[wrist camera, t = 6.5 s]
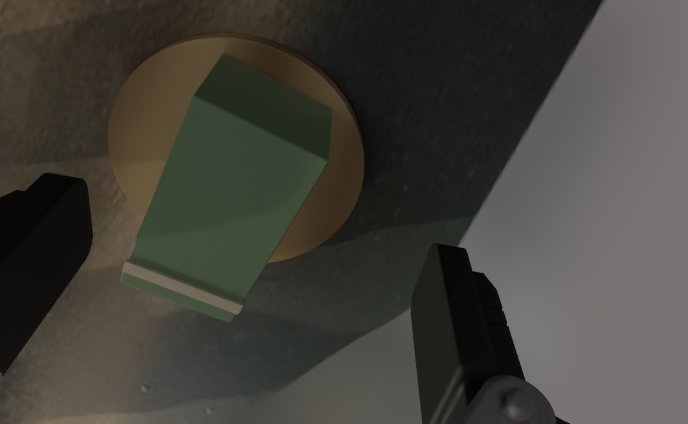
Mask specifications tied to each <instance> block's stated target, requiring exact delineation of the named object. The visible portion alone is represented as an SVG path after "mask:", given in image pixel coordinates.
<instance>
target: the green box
mask: <svg viewBox="0 0 688 424" xmlns="http://www.w3.org/2000/svg"><path fill="white" fill-rule="evenodd" d="M332 113H333V109H332V108H330V107H328V106H326V105H324V104H322V103H320V102H318V101H316V100H314V99H312V98H310V97H309V96H307V95H305V94H303V93H301V92H299V91H297V90H295V89H293V88H291V87H289V86H287V85H285V84H284V83H282V82H280V81H278V80H276V79H274V78H272V77H270V76H268V75H266V74H264V73H262V72H260V71H259V70H257V69H255V68H253V67H251V66H249V65H247V64H245V63H243V62H241V61H239V60H237V59H235V58H234V57H232V56H230V55H228V54H226V53H223V54H222V55H221V56H220V58H219V59H218V61H217V62H216V64H215V65H214V66H213V68H212V69H211V71H210V72H209V73H208V75H207V76H206V78H205V79H204V81H203V82H202V83H201V85H200V86H199V88H198V89H197V91H196V92H195V93H194V95H193V96H192V99H191V102H190V104H189V107H188V109H187V112H186V114H185V117H184V119H183V122H182V124H181V127H180V129H179V132H178V134H177V137H176V139H175V142H174V144H173V147H172V149H171V152H170V155H169V157H168V160H167V162H166V165H165V167H164V170H163V172H162V175H161V177H160V180H159V182H158V185H157V187H156V190H155V192H154V195H153V197H152V200H151V203H150V205H149V208H148V210H147V213H146V215H145V218H144V220H143V223H142V225H141V228H140V230H139V233H138V235H137V238H136V240H135V243H134V245H133V248H132V251H131V253H130V256H129V258H127V260H126V261H125V264H124V267H123V269H122V272H123V273H122V276H121V278H120V283H122V284H125V285H127V286H130V287H133V288H136V289H138V290H141V291H144V292H146V293H149V294H152V295H155V296H157V297H160V298H163V299H165V300H168V301H171V302H174V303H176V304H179V305H182V306H184V307H187V308H190V309H193V310H195V311H198V312H201V313H203V314H206V315H209V316H212V317H214V318H217V319H220V320H222V321H225V322H228V323H231V322H232V320H233V319H234V317H235V316H236V314H237V315H238V314H239V313H240V311H241V309H242V308H243V306H244V301H245V299H246V297H247V296H248V294H249V292H250V291H251V289H252V288H253V286H254V284H255V283H256V281H257V279H258V278H259V276H260V274H261V273H262V271H263V269H264V268H265V266H266V265H267V263H268V261H269V260H270V258H271V256H272V255H273V253H274V251H275V250H276V248H277V246H278V245H279V243H280V241H281V240H282V238H283V237H284V235H285V233H286V232H287V230H288V228H289V227H290V225H291V223H292V222H293V220H294V218H295V217H296V215H297V214H298V212H299V210H300V209H301V207H302V205H303V204H304V202H305V200H306V199H307V197H308V195H309V194H310V192H311V190H312V189H313V187H314V186H315V184H316V182H317V181H318V179H319V177H320V176H321V174H322V172H323V171H324V169H325V167H326V166H327V164H328V163H329V151H330V138H331V126H332Z"/></svg>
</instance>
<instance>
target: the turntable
mask: <svg viewBox="0 0 688 424" xmlns="http://www.w3.org/2000/svg"><path fill="white" fill-rule="evenodd" d="M223 53H226V54H228V55H230V56H232V57H234V58H235V59H237V60H239V61H241V62H243V63H245V64H247V65H249V66H251V67H253V68H255V69H257V70H259V71H260V72H262V73H264V74H266V75H268V76H270V77H272V78H274V79H276V80H278V81H280V82H282V83H284V84H285V85H287V86H289V87H291V88H293V89H295V90H297V91H299V92H301V93H303V94H305V95H307V96H309V97H310V98H312V99H314V100H316V101H318V102H320V103H322V104H324V105H326V106H328V107H330V108H332V109H333V113H332V126H331V138H330V151H329V163H328V164H327V166H326V167H325V169H324V171H323V172H322V174H321V176H320V177H319V179H318V181H317V182H316V184H315V186H314V187H313V189H312V190H311V192H310V194H309V195H308V197H307V199H306V200H305V202H304V204H303V205H302V207H301V209H300V210H299V212H298V214H297V215H296V217H295V218H294V220H293V222H292V223H291V225H290V227H289V228H288V230H287V232H286V233H285V235H284V237H283V238H282V240H281V241H280V243H279V245H278V246H277V248H276V250H275V251H274V253H273V255H272V256H271V258H270V260H269V261H268V263H270V262H276V261H282V260H286V259H289V258H293V257H296V256H298V255H301V254H303V253H306V252H308V251H310V250H312V249H314V248H315V247H317V246H319V245H321V244H322V243H323V242H325V241H326V240H327V239H329V238H330V237H331V236H332V235H333V234H334V233H335V232H336V231H337V230H338V229H339V228H340V227H341V226H342V225H343V224H344V222H345V221H346V220H347V219H348V217H349V216H350V214H351V212H352V211H353V209H354V207H355V205H356V203H357V200H358V198H359V195H360V193H361V189H362V184H363V180H364V168H365V157H364V145H363V139H362V135H361V130H360V127H359V124H358V121H357V119H356V116H355V114H354V111H353V110H352V108H351V106H350V104H349V102H348V101H347V99H346V97H345V96H344V95H343V93H342V92H341V91H340V89H339V88H338V87H337V85H336V84H335V83H334V82H333V81H332V80H331V79H330V78H329V77H328V76H327V75H326V74H325V73H324V72H323V71H322V70H321V69H320V68H319V67H317V66H316V65H315V64H314V63H312V62H311V61H310V60H309V59H307V58H305V57H304V56H302V55H300V54H299V53H297V52H295V51H294V50H292V49H290V48H287V47H285V46H283V45H281V44H279V43H276V42H274V41H270V40H267V39H264V38H261V37H257V36H252V35H246V34H240V33H220V32H218V33H209V34H200V35H196V36H192V37H188V38H184V39H181V40H179V41H176V42H174V43H171V44H169V45H167V46H165V47H163V48H162V49H160V50H158V51H157V52H155V53H153V54H152V55H151V56H150V57H148V58H147V59H146V60H145V61H144V62H143V63H141V64H140V65H139V66H138V67H137V68H136V69H135V70H134V71H133V72H132V73H131V75H130V76H129V77H128V78H127V79H126V81H125V82H124V83H123V85H122V87H121V89H120V90H119V92H118V94H117V95H116V98H115V101H114V103H113V106H112V109H111V113H110V118H109V123H108V148H109V156H110V160H111V163H112V167H113V171H114V173H115V175H116V178H117V180H118V183H119V185H120V186H121V188H122V190H123V192H124V193H125V195H126V197H127V198H128V200H129V201H130V202H131V204H132V205H133V206H134V208H135V209H136V210H137V211H138V212H139V214H140V215H141V216H142V217H143V218H145V215H146V213H147V210H148V208H149V205H150V203H151V200H152V197H153V195H154V192H155V190H156V187H157V185H158V182H159V180H160V177H161V175H162V172H163V170H164V167H165V165H166V162H167V160H168V157H169V155H170V152H171V149H172V147H173V144H174V142H175V139H176V137H177V134H178V132H179V129H180V127H181V124H182V122H183V119H184V117H185V114H186V112H187V109H188V107H189V104H190V102H191V99H192V96H193V95H194V93H195V92H196V91H197V89H198V88H199V86H200V85H201V83H202V82H203V81H204V79H205V78H206V76H207V75H208V73H209V72H210V71H211V69H212V68H213V66H214V65H215V64H216V62H217V61H218V59H219V58H220V56H221V55H222V54H223Z"/></svg>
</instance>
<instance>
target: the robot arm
mask: <svg viewBox="0 0 688 424" xmlns="http://www.w3.org/2000/svg"><path fill="white" fill-rule="evenodd" d="M92 239H93V231H92V222H91V213H90V204H89V195H88V187H87V184H86V182H85V180H84V179H81V178H75V177H70V176H64V175H59V174H53V173H44V174H43V175H41V176H40V177H39V178H38V179H37V180H36V181H35V182H34V183H33V184H32V185H31V186H30V187H29V188H28V189H27V190H26V191H19V190H16V191H13V192H11V193H9V194H7V195H5V196H3V197H0V375H1V376H3V375H4V374H5V372H6V371H7V370H8V368H9V367H10V365H11V364H12V363H13V361H14V360H15V358H16V357H17V356H18V354H19V353H20V351H21V350H22V349H23V347H24V346H25V344H26V343H27V342H28V340H29V339H30V337H31V336H32V335H33V333H34V332H35V330H36V329H37V328H38V326H39V325H40V323H41V322H42V320H43V319H44V318H45V316H46V315H47V313H48V312H49V311H50V309H51V308H52V306H53V305H54V304H55V302H56V301H57V299H58V298H59V297H60V295H61V294H62V292H63V291H64V290H65V288H66V287H67V285H68V284H69V283H70V281H71V280H72V278H73V277H74V276H75V274H76V273H77V271H78V270H79V269H80V267H81V266H82V264H83V263H84V262H85V260H86V258H87V256H88V254H89V252H90V249H91V245H92ZM411 319H412V330H413V339H414V349H415V358H416V368H417V376H418V386H419V396H420V405H421V415H422V424H570V423H567V422H565V421H563V420H561V419H559V418H558V417H556V416H555V414H554V411H553V409H552V407H551V405H550V403H549V402H548V400H547V399H546V398H545V396H544V395H543V394H542V393H541V392H540V391H539V390H538V389H537V388H535V387H534V386H533V385H531V384H530V383H528V382H526V381H525V378H524V375H523V371H522V368H521V365H520V362H519V359H518V356H517V353H516V350H515V346H514V343H513V340H512V337H511V333H510V330H509V327H508V326H507V321H506V317H505V314H504V312H503V311H502V305H501V302H500V298H499V295H498V292H497V290H496V288H495V287H494V286H493V285H492V283H491V282H490V281H489V280H488V278H487V277H486V276H485V275H484V273H479V272H474V271H472V268H471V265H470V261H469V257H468V254H467V251H466V249H465V248H460V247H454V246H449V245H443V244H437V243H433V244H432V246H431V247H430V249H429V252H428V255H427V257H426V260H425V262H424V265H423V268H422V270H421V273H420V276H419V278H418V281H417V283H416V286H415V289H414V292H413V296H412V302H411Z"/></svg>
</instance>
